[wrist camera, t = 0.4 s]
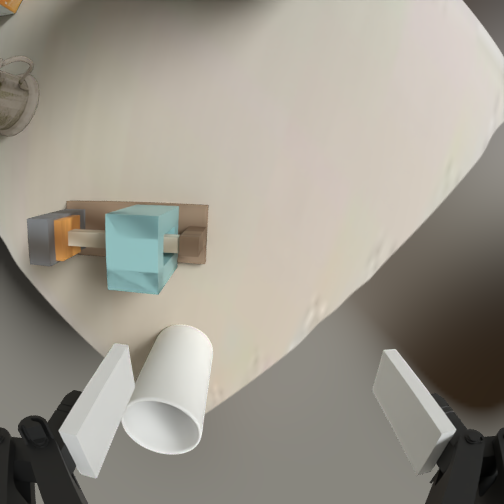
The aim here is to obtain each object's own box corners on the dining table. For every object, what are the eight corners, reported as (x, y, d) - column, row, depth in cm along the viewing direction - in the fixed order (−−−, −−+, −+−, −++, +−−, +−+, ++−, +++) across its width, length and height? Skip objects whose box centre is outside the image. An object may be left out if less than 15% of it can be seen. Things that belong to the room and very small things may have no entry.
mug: (-3, 146, 34) (-56, 144, 22) (-7, 92, 32) (-56, 81, 20) (67, 106, 34) (15, 88, 22) (61, 49, 31) (15, 21, 20)
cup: (176, 312, 41) (144, 384, 25) (225, 347, 42) (218, 429, 26) (145, 351, 42) (108, 426, 26) (191, 382, 43) (174, 463, 28)
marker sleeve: (137, 204, 34) (105, 213, 26) (179, 206, 34) (158, 216, 26) (136, 263, 36) (107, 289, 27) (177, 266, 36) (158, 294, 27)
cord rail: (70, 200, 37) (26, 209, 27) (208, 205, 38) (196, 215, 28) (71, 251, 38) (31, 272, 29) (205, 261, 39) (194, 289, 29)
